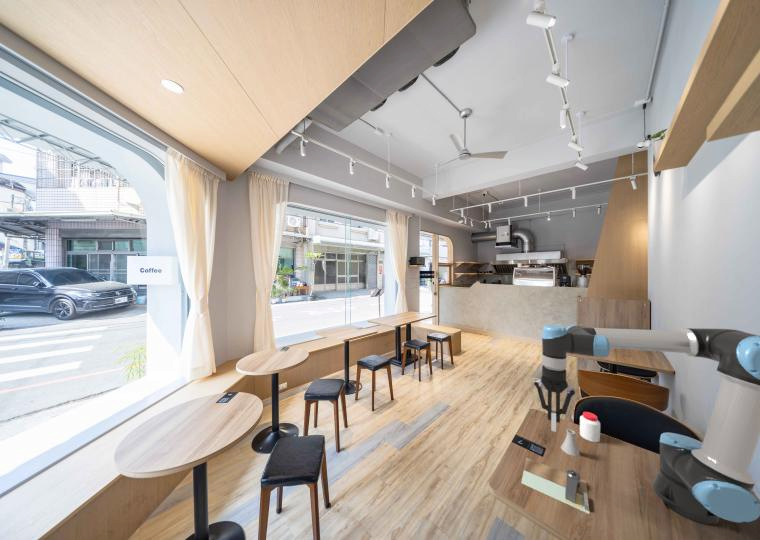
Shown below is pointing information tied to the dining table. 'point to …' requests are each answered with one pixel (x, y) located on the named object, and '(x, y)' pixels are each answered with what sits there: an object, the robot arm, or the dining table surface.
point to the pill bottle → (590, 427)
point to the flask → (570, 444)
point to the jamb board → (552, 474)
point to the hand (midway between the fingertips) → (553, 429)
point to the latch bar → (572, 485)
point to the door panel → (554, 491)
